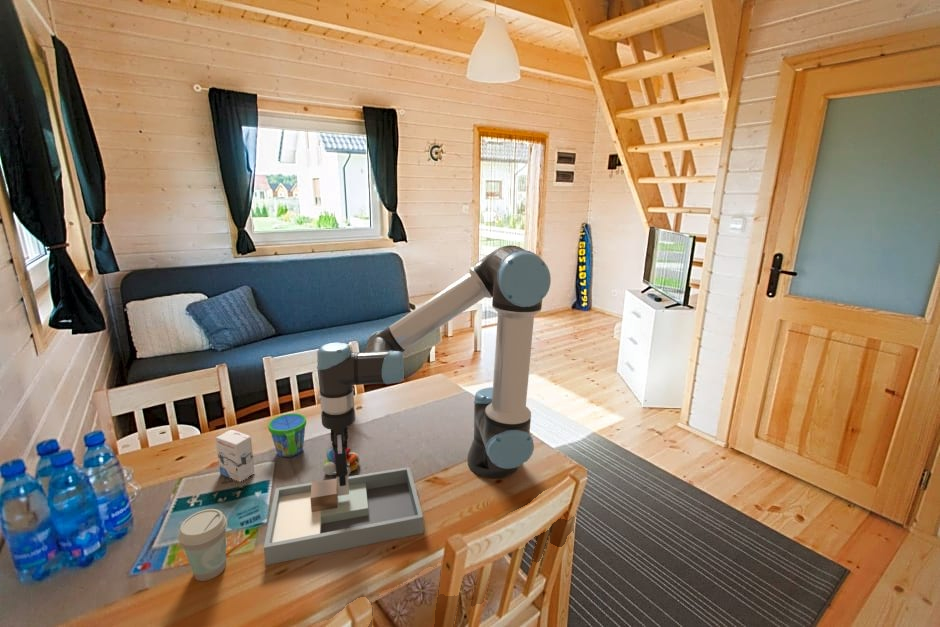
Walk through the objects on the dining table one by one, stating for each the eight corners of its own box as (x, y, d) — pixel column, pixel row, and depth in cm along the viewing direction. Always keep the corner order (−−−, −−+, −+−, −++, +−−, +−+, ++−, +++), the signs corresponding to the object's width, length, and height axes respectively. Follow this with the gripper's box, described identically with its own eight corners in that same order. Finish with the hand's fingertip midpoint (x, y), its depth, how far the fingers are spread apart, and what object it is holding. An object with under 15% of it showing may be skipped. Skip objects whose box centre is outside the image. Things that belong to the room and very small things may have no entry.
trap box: (410, 481, 121) (409, 466, 120) (423, 533, 103) (423, 516, 102) (277, 503, 112) (275, 488, 111) (265, 565, 93) (263, 547, 92)
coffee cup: (200, 594, 87) (190, 543, 83) (178, 574, 91) (168, 526, 88) (241, 564, 94) (234, 517, 90) (219, 547, 98) (211, 501, 95)
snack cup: (310, 461, 129) (307, 430, 127) (271, 469, 125) (267, 438, 123) (307, 435, 143) (304, 407, 141) (272, 441, 139) (268, 412, 137)
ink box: (219, 474, 123) (213, 437, 120) (235, 465, 127) (230, 428, 124) (241, 483, 119) (235, 445, 116) (256, 473, 124) (251, 436, 121)
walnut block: (337, 492, 113) (336, 478, 112) (337, 507, 107) (336, 493, 106) (312, 496, 111) (311, 482, 110) (311, 512, 105) (310, 498, 104)
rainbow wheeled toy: (350, 481, 121) (349, 458, 119) (318, 476, 123) (316, 453, 121) (364, 463, 129) (362, 441, 127) (333, 459, 131) (332, 437, 129)
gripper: (321, 397, 109) (328, 479, 115) (319, 423, 97) (327, 513, 103) (353, 394, 111) (357, 475, 117) (355, 419, 99) (360, 507, 105)
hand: (343, 493), depth 110 cm, fingers closed
